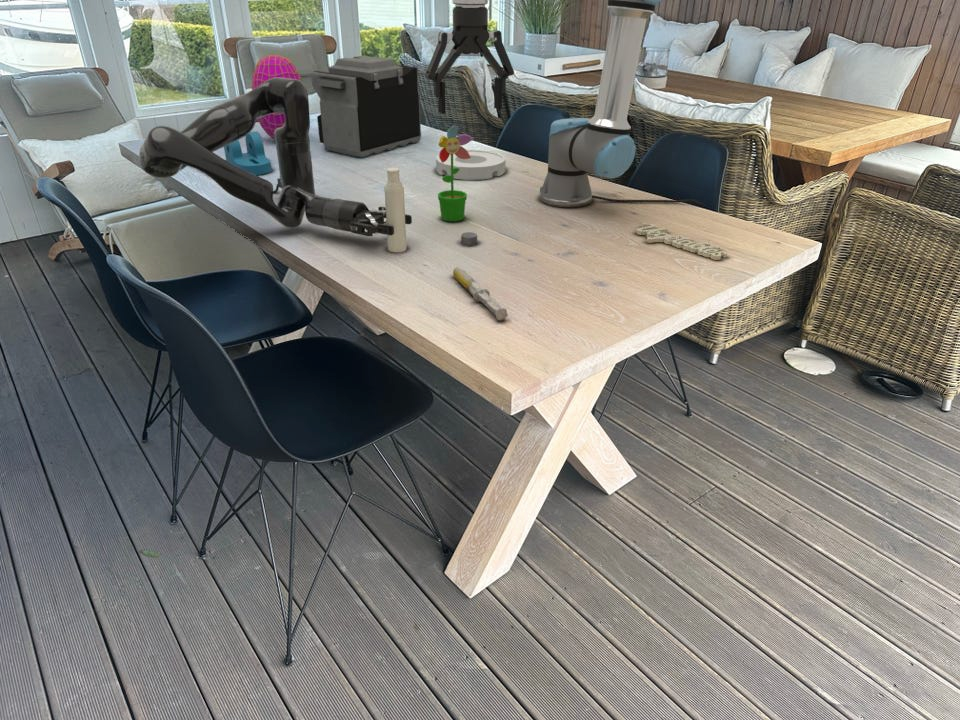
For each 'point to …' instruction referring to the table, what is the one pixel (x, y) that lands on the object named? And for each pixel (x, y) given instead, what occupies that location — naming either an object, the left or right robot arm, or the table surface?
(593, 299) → the table surface
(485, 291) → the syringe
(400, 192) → the bottle
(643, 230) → the decorative sign
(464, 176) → the ashtray
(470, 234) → the cap
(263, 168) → the camera mount
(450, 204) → the potted flower
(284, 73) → the decorative egg
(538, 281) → the table surface
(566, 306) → the table surface
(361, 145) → the electronic device
